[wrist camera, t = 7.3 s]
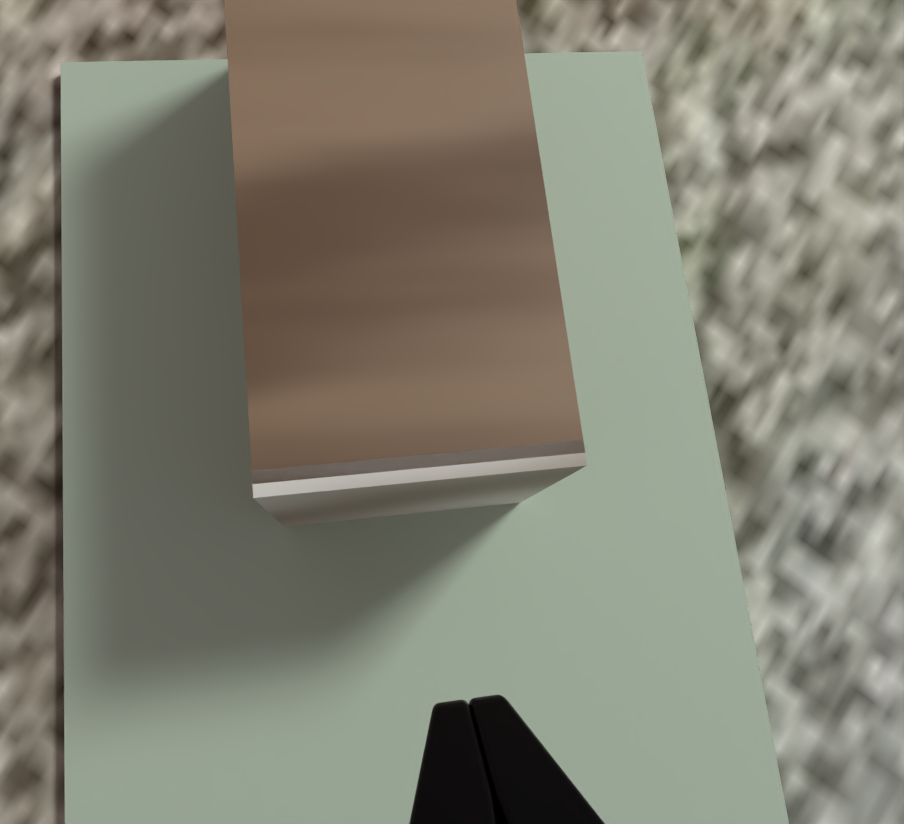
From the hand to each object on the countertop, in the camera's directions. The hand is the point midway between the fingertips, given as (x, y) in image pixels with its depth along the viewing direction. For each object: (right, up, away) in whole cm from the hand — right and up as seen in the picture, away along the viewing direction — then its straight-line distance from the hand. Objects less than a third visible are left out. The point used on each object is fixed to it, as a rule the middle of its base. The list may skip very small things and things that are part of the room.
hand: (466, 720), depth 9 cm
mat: (-1, +2, +8) cm, 8 cm away
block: (-1, +2, +5) cm, 5 cm away
